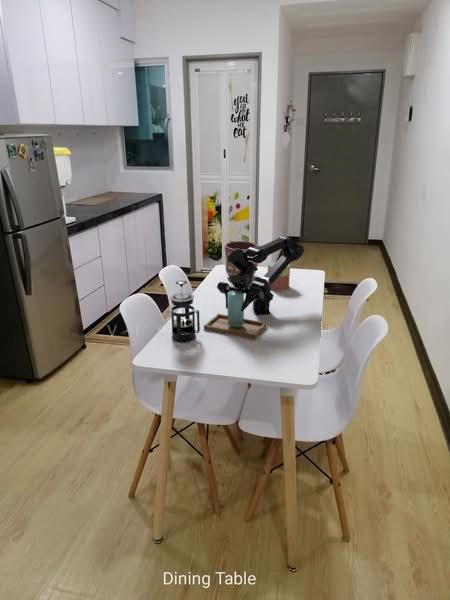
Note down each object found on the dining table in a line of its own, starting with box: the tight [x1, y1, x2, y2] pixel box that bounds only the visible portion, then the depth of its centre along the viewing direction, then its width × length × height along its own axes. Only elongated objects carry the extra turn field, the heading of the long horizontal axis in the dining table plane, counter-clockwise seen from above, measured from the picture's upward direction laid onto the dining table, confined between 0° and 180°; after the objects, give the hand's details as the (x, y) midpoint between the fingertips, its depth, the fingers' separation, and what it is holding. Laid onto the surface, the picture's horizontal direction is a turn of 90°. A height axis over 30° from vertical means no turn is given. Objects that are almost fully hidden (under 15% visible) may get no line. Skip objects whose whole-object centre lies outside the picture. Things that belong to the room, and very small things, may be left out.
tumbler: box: [227, 291, 245, 327], centre depth 174 cm, size 7×7×13 cm
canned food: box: [267, 260, 291, 292], centre depth 219 cm, size 11×11×12 cm
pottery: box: [224, 240, 258, 279], centre depth 233 cm, size 18×18×18 cm
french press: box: [169, 280, 201, 344], centre depth 165 cm, size 12×9×23 cm
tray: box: [203, 313, 268, 341], centre depth 176 cm, size 13×22×2 cm, turn 64°
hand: (234, 309), depth 172 cm, fingers closed on tumbler, 6 cm apart
